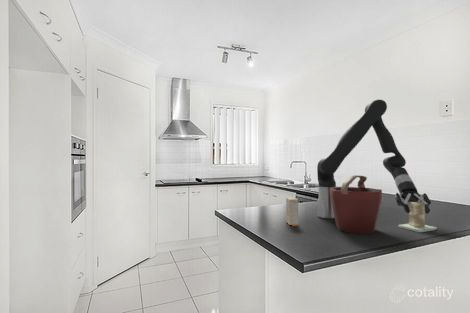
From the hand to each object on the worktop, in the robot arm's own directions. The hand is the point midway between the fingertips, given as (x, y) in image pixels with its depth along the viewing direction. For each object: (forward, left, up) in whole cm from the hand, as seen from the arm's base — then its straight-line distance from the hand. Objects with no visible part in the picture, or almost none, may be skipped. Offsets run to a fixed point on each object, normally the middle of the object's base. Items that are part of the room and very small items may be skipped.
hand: (418, 212), depth 120 cm
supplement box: (-48, +31, -8) cm, 58 cm away
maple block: (+1, +1, -7) cm, 7 cm away
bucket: (-26, +11, -8) cm, 30 cm away
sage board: (+1, +1, -8) cm, 8 cm away
